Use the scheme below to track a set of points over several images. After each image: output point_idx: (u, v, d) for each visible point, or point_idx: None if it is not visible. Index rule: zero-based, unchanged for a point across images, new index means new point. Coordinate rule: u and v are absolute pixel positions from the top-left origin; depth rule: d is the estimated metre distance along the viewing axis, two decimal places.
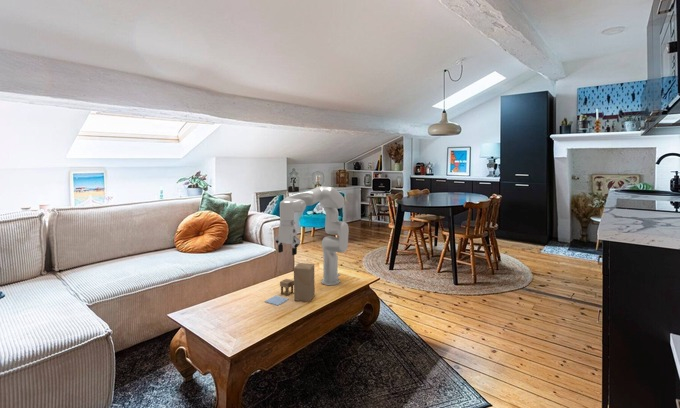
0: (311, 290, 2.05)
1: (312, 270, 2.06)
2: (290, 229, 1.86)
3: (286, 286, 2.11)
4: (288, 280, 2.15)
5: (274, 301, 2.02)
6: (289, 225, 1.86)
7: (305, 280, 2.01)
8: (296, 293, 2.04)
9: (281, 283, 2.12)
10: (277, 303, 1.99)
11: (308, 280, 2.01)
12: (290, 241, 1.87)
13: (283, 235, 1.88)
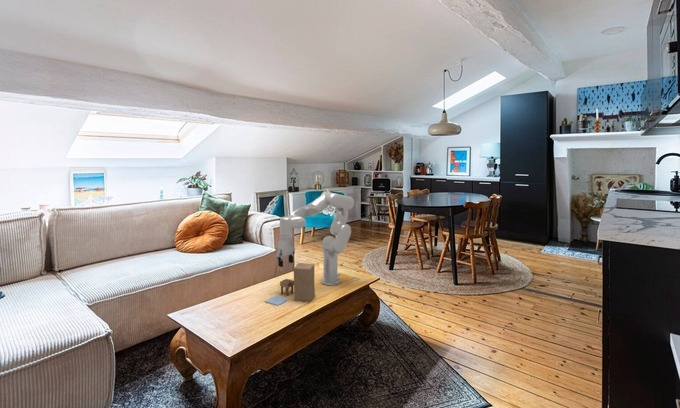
0: (311, 290, 2.05)
1: (312, 270, 2.06)
2: (292, 240, 2.13)
3: (286, 286, 2.11)
4: (288, 280, 2.15)
5: (274, 301, 2.02)
6: None
7: (305, 280, 2.01)
8: (296, 293, 2.04)
9: (281, 283, 2.12)
10: (277, 303, 1.99)
11: (308, 280, 2.01)
12: (292, 251, 2.13)
13: (288, 248, 2.09)
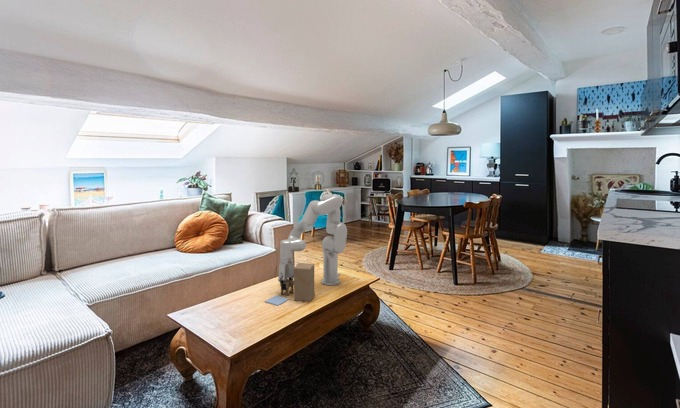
0: (311, 290, 2.05)
1: (312, 270, 2.06)
2: None
3: (286, 286, 2.11)
4: (288, 280, 2.15)
5: (274, 301, 2.02)
6: None
7: (305, 280, 2.01)
8: (296, 293, 2.04)
9: None
10: (277, 303, 1.99)
11: (308, 280, 2.01)
12: (293, 273, 2.16)
13: (289, 271, 2.11)
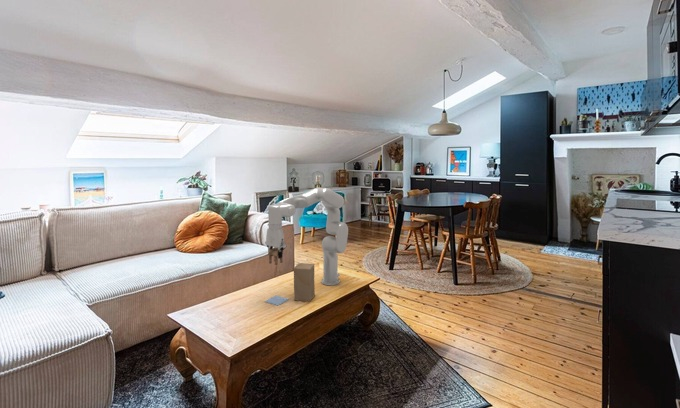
0: (311, 290, 2.05)
1: (312, 270, 2.06)
2: None
3: None
4: (274, 248, 2.00)
5: (274, 301, 2.02)
6: None
7: (305, 280, 2.01)
8: (296, 293, 2.04)
9: (277, 252, 1.96)
10: (277, 303, 1.99)
11: (308, 280, 2.01)
12: None
13: None
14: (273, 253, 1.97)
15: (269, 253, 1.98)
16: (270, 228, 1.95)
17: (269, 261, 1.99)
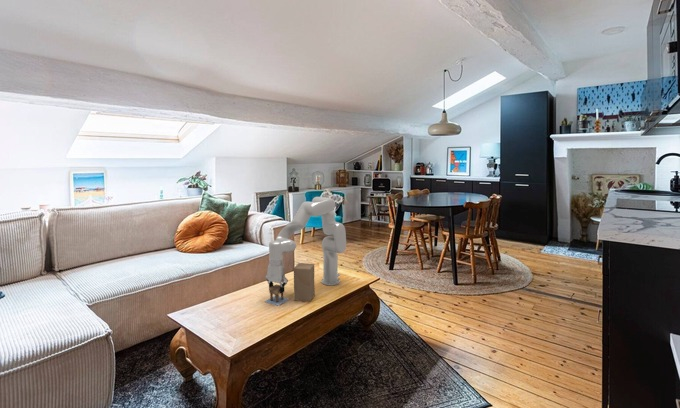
0: (311, 290, 2.05)
1: (312, 270, 2.06)
2: None
3: None
4: (275, 286, 2.03)
5: (274, 301, 2.02)
6: None
7: (305, 280, 2.01)
8: (296, 293, 2.04)
9: (278, 290, 2.00)
10: (277, 303, 1.99)
11: (308, 280, 2.01)
12: None
13: None
14: (274, 291, 2.00)
15: (270, 291, 2.01)
16: (271, 264, 1.98)
17: (270, 299, 2.02)
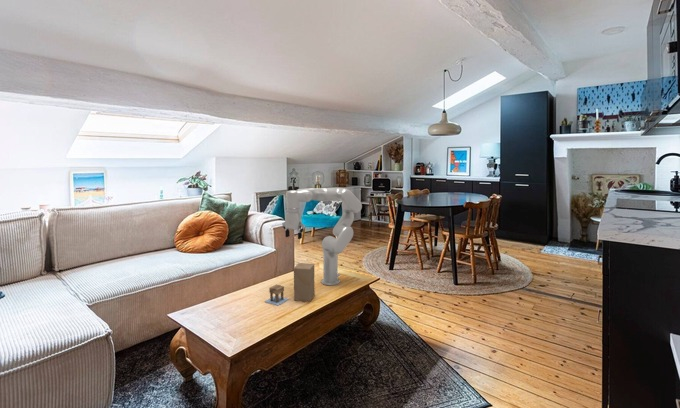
0: (311, 290, 2.05)
1: (312, 270, 2.06)
2: None
3: (283, 290, 2.03)
4: (275, 286, 2.03)
5: (274, 301, 2.02)
6: None
7: (305, 280, 2.01)
8: (296, 293, 2.04)
9: (278, 290, 2.00)
10: (277, 303, 1.99)
11: (308, 280, 2.01)
12: None
13: None
14: (274, 291, 2.00)
15: (270, 291, 2.01)
16: (289, 212, 2.10)
17: (270, 299, 2.02)
